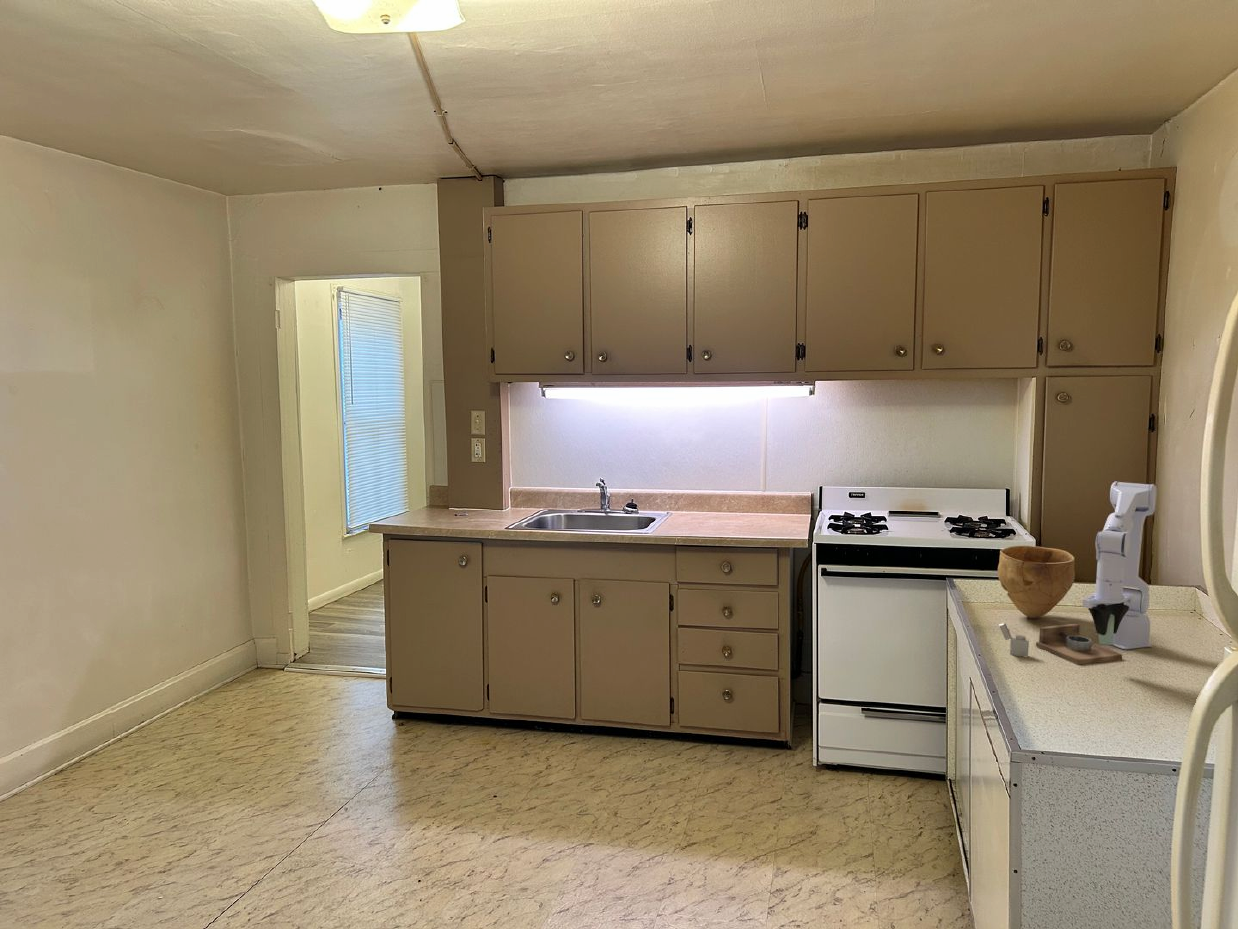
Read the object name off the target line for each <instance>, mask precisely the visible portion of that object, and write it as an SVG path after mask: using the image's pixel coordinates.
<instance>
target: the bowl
mask: <svg viewBox="0 0 1238 929" xmlns="http://www.w3.org/2000/svg"><path fill="white" fill-rule="evenodd" d="M998 560H999V562H998V566H997V576H998V580H999V582H1000V585H1001V587H1002V589H1003V590H1004V591H1006V592H1007V593H1006V595H1007V597H1008V598H1009V600H1010V601H1011V602H1012V604H1014V606H1015V607H1016V609H1017V610H1018V611H1019V612H1020V613H1021V614H1023V615H1024V616H1026V617H1028V618H1030V619H1037V618H1041V617H1043V616H1045V615H1047V614H1048V613H1050V612H1051V611H1052V610H1053V608H1055V607H1056V606H1057V605H1058V604H1059V603H1060V602H1061V601H1062V600H1063V599H1064V598H1065V597H1066V595H1067V594H1068V592H1069V591H1070V590H1071V588H1072V587H1073V584H1074V582H1075V576H1076V572H1075V556H1074V555H1073V554H1071V553H1069V552H1068V551H1067V550H1063V549H1059V548H1051V547H1043V546H1034V545H1033V546H1032V545H1011V546H1007V547H1003V548H1001V549H1000V551H999V559H998Z"/></svg>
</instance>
